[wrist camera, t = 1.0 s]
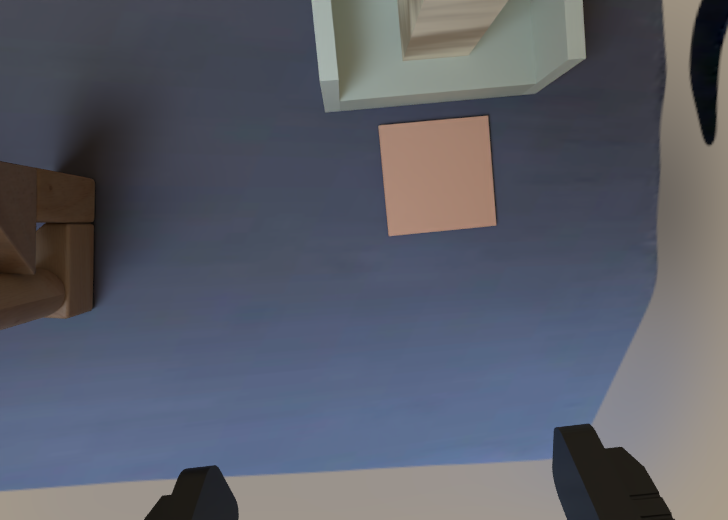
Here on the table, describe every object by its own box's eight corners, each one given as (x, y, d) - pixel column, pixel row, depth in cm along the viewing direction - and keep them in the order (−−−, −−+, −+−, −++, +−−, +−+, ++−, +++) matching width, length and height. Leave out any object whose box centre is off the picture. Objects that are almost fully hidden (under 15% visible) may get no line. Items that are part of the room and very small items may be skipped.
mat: (494, 225, 38) (496, 225, 38) (388, 236, 38) (388, 236, 38) (486, 116, 38) (488, 115, 37) (378, 126, 37) (378, 125, 37)
